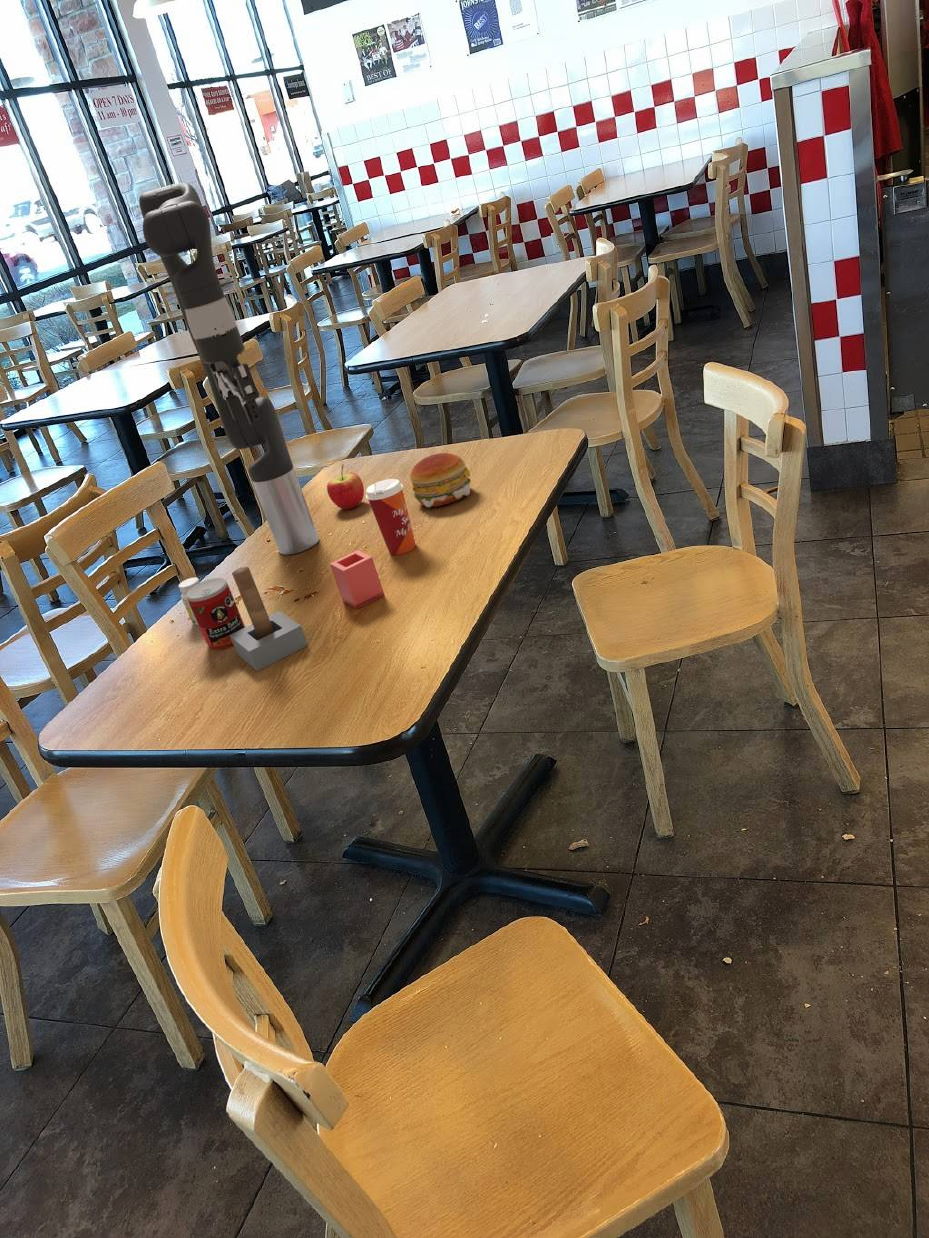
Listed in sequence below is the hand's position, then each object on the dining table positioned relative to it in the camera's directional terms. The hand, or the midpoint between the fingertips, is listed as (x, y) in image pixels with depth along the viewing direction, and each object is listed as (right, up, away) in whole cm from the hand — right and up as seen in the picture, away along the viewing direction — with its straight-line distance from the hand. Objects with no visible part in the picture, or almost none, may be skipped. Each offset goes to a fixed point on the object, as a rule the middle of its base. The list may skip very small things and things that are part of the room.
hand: (248, 420), depth 175 cm
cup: (+19, -31, +10) cm, 38 cm away
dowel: (+4, -40, +1) cm, 40 cm away
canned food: (-6, -39, +10) cm, 41 cm away
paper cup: (+26, -21, +27) cm, 43 cm away
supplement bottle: (-13, -35, +21) cm, 43 cm away
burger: (+34, -8, +47) cm, 58 cm away
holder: (+4, -40, +1) cm, 41 cm away
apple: (+12, -9, +58) cm, 60 cm away
